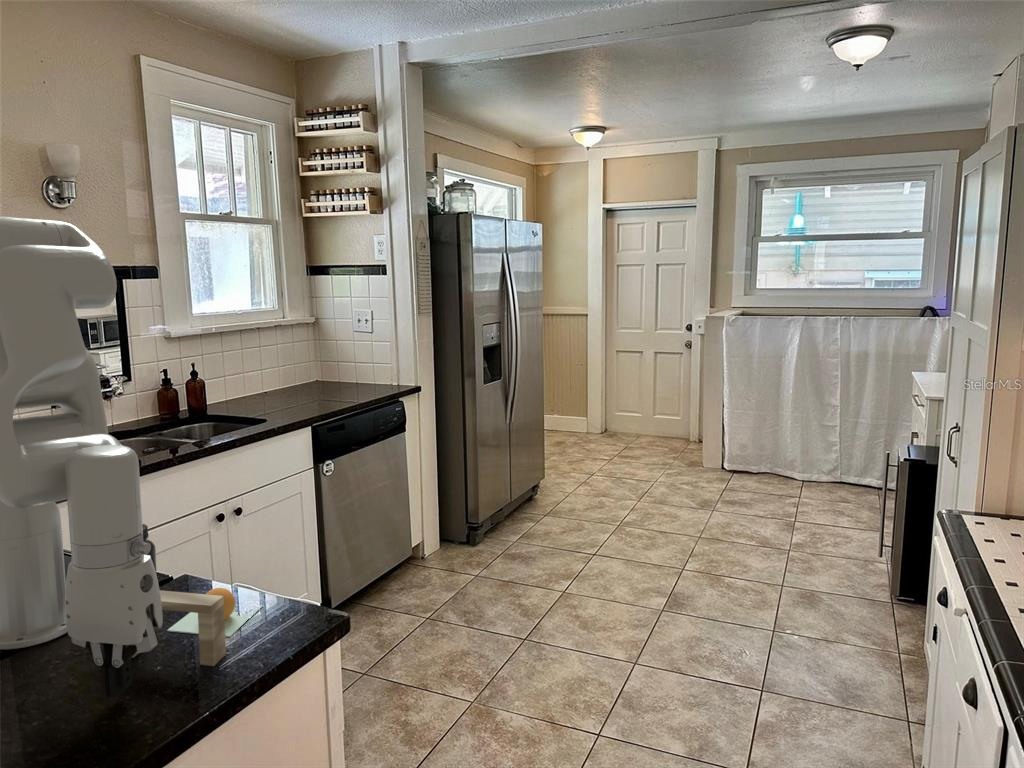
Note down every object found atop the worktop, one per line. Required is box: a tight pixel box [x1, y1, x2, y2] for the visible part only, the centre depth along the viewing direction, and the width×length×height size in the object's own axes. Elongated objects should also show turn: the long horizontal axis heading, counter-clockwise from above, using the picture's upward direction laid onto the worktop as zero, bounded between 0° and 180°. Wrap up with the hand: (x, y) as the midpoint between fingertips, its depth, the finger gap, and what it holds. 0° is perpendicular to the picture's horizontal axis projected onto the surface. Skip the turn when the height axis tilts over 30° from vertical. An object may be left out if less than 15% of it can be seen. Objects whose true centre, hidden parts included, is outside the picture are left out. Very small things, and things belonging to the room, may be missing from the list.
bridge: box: [131, 589, 227, 667], centre depth 97 cm, size 3×14×9 cm, turn 82°
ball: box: [205, 587, 236, 619], centre depth 107 cm, size 5×5×5 cm
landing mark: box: [166, 604, 264, 638], centre depth 108 cm, size 10×10×1 cm
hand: (117, 690), depth 86 cm, fingers closed
